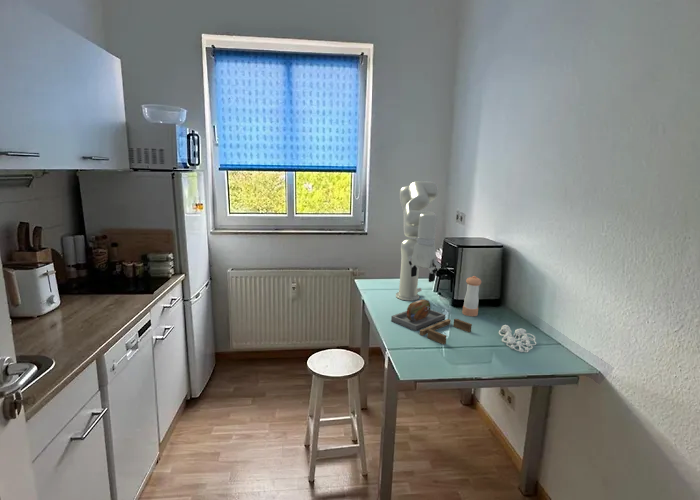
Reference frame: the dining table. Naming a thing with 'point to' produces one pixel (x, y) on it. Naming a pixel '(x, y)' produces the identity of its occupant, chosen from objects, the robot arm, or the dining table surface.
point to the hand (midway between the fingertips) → (422, 278)
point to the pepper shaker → (471, 297)
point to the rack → (441, 337)
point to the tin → (418, 310)
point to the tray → (420, 324)
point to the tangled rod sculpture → (513, 339)
